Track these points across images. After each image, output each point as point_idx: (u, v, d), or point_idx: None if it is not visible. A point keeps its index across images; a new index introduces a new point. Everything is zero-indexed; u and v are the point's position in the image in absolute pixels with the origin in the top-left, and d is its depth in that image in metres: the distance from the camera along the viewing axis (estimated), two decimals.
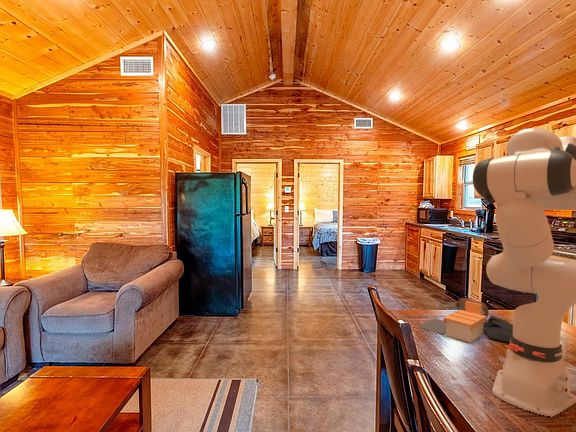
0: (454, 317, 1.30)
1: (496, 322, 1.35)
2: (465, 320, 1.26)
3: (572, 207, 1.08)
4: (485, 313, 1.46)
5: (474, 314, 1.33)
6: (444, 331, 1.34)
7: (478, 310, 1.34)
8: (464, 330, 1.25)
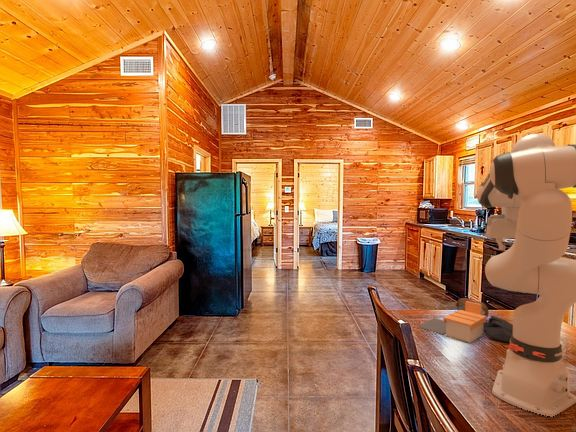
0: (454, 317, 1.30)
1: (496, 322, 1.35)
2: (465, 320, 1.26)
3: None
4: (485, 313, 1.46)
5: (474, 314, 1.33)
6: (444, 331, 1.34)
7: (478, 310, 1.34)
8: (464, 330, 1.25)
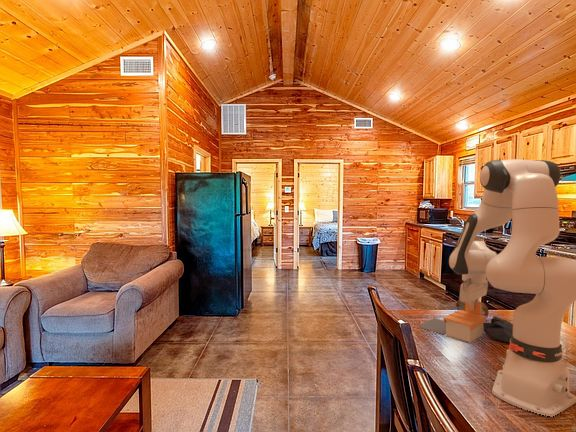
0: (454, 317, 1.30)
1: (498, 323, 1.34)
2: (465, 320, 1.26)
3: (480, 295, 1.36)
4: (485, 313, 1.46)
5: (474, 314, 1.33)
6: (444, 331, 1.34)
7: (478, 310, 1.34)
8: (464, 330, 1.25)
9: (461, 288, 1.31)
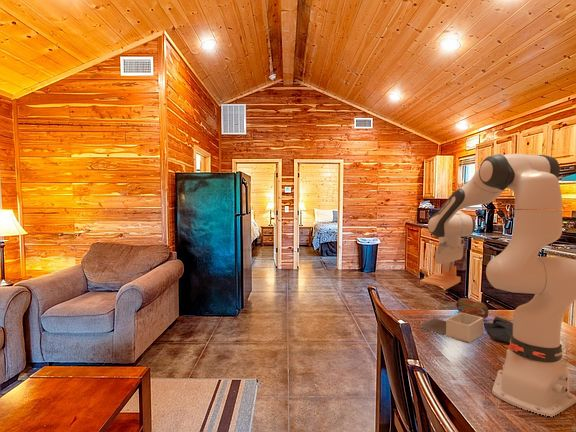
0: (430, 279, 1.39)
1: (500, 323, 1.33)
2: (439, 281, 1.36)
3: (456, 259, 1.45)
4: (485, 313, 1.46)
5: (449, 276, 1.43)
6: (444, 331, 1.34)
7: (453, 272, 1.43)
8: (464, 330, 1.25)
9: (436, 250, 1.39)
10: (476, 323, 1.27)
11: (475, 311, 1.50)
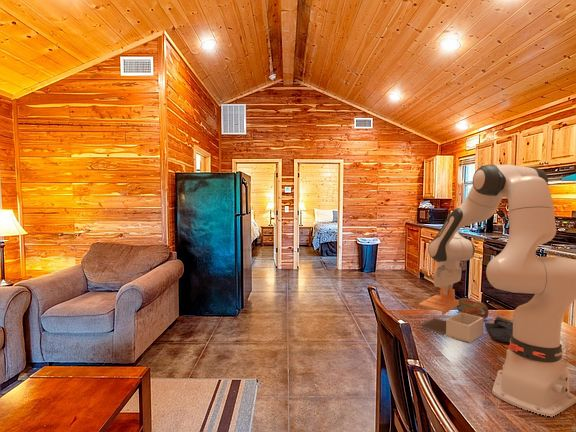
0: (428, 303, 1.40)
1: (501, 323, 1.33)
2: (438, 305, 1.36)
3: (454, 281, 1.46)
4: (485, 313, 1.46)
5: (448, 299, 1.43)
6: (444, 331, 1.34)
7: (451, 295, 1.43)
8: (464, 330, 1.25)
9: (435, 274, 1.40)
10: (476, 323, 1.27)
11: (475, 311, 1.50)
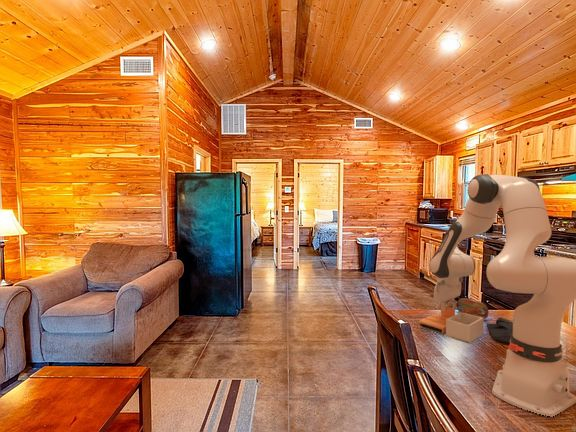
0: (429, 320, 1.40)
1: (503, 324, 1.33)
2: (438, 323, 1.37)
3: (454, 296, 1.46)
4: (485, 313, 1.46)
5: None
6: None
7: (452, 314, 1.44)
8: (464, 330, 1.25)
9: (435, 289, 1.40)
10: (476, 323, 1.27)
11: (475, 311, 1.50)
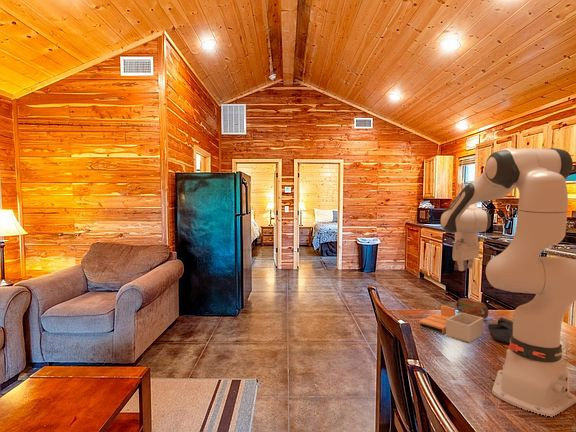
0: (429, 320, 1.40)
1: (504, 324, 1.32)
2: (438, 323, 1.37)
3: (473, 257, 1.40)
4: (485, 313, 1.46)
5: None
6: None
7: (452, 314, 1.44)
8: (464, 330, 1.25)
9: (454, 247, 1.34)
10: (476, 323, 1.27)
11: (475, 311, 1.50)
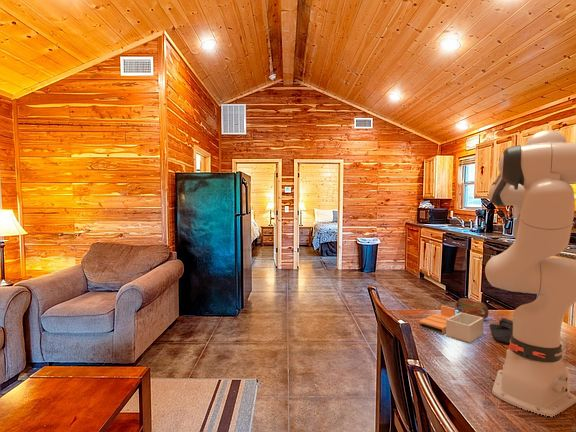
0: (429, 320, 1.40)
1: (505, 324, 1.32)
2: (438, 323, 1.37)
3: None
4: (485, 313, 1.46)
5: None
6: None
7: (452, 314, 1.44)
8: (464, 330, 1.25)
9: (515, 223, 1.20)
10: (476, 323, 1.27)
11: (475, 311, 1.50)
